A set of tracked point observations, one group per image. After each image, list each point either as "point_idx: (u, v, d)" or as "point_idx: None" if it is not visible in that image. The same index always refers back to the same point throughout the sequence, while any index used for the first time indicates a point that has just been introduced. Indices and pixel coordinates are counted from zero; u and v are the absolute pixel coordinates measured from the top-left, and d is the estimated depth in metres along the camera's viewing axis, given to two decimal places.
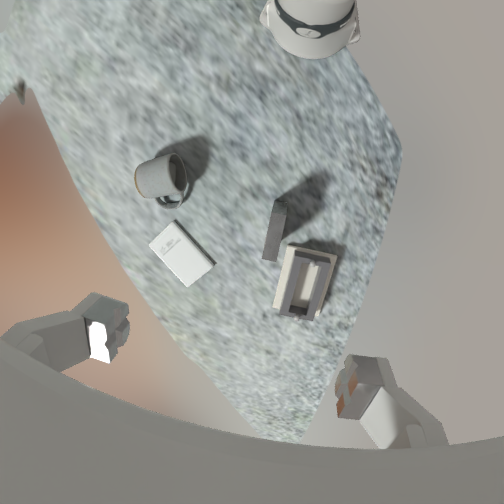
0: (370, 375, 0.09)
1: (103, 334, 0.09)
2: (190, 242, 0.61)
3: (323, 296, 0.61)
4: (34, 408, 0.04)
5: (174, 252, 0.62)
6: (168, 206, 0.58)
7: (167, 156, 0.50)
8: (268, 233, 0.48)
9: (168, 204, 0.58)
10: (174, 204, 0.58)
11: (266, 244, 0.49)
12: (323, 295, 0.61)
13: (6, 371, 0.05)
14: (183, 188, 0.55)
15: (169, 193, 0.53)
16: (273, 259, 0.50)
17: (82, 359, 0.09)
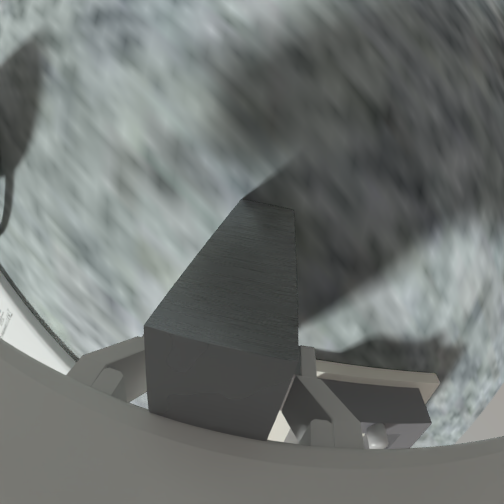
0: None
1: None
2: (29, 324, 0.18)
3: None
4: (34, 408, 0.04)
5: (12, 338, 0.19)
6: None
7: None
8: None
9: None
10: None
11: None
12: None
13: (6, 371, 0.05)
14: None
15: None
16: None
17: None
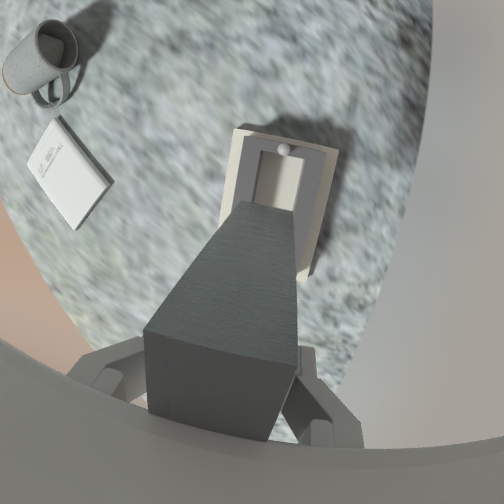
0: None
1: None
2: (74, 147, 0.29)
3: (315, 238, 0.30)
4: (34, 408, 0.04)
5: (54, 169, 0.31)
6: (49, 105, 0.27)
7: (44, 21, 0.19)
8: None
9: (50, 103, 0.27)
10: (58, 101, 0.27)
11: None
12: (314, 235, 0.30)
13: (6, 371, 0.05)
14: None
15: (38, 72, 0.22)
16: None
17: None
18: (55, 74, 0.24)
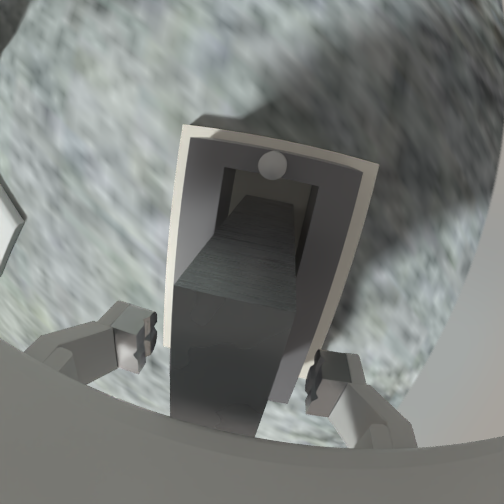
0: (337, 371, 0.09)
1: (134, 345, 0.09)
2: None
3: (328, 318, 0.17)
4: (34, 408, 0.04)
5: None
6: None
7: None
8: (177, 401, 0.07)
9: None
10: None
11: None
12: (328, 315, 0.17)
13: (6, 371, 0.05)
14: None
15: None
16: None
17: (109, 370, 0.09)
18: None
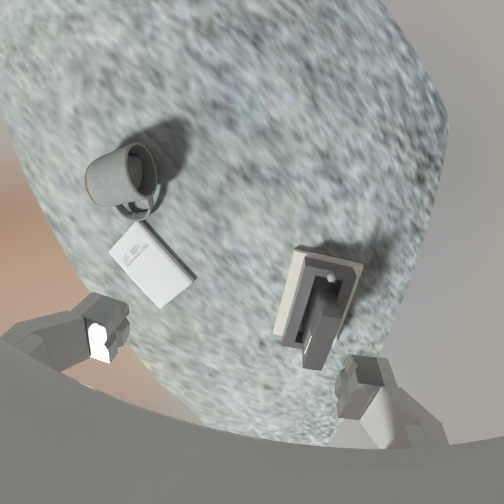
0: (370, 375, 0.09)
1: (103, 334, 0.09)
2: (161, 249, 0.43)
3: (342, 319, 0.43)
4: (34, 408, 0.04)
5: (141, 262, 0.44)
6: (134, 217, 0.42)
7: (126, 147, 0.34)
8: (314, 340, 0.34)
9: (134, 214, 0.42)
10: (141, 214, 0.42)
11: (310, 352, 0.34)
12: (342, 318, 0.43)
13: (6, 371, 0.05)
14: (151, 192, 0.39)
15: (129, 199, 0.36)
16: (318, 368, 0.35)
17: (82, 359, 0.09)
18: (144, 199, 0.38)
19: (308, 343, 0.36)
